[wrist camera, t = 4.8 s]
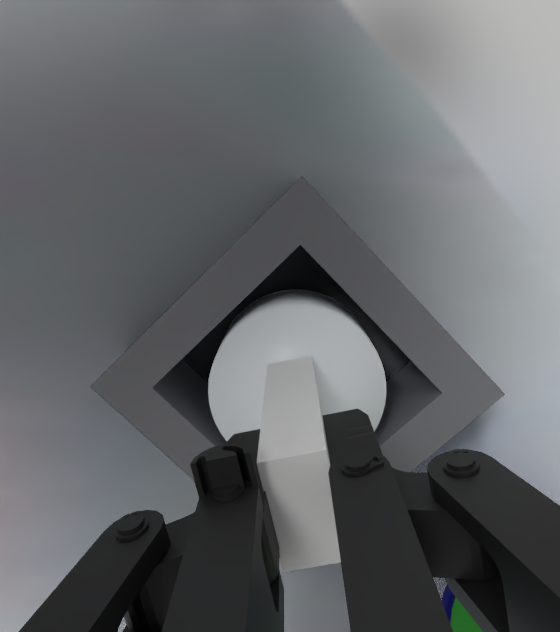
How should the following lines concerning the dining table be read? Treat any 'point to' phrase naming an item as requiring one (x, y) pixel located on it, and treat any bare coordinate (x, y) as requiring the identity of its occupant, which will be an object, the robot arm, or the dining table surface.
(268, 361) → the dome
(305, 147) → the dining table surface
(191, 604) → the robot arm
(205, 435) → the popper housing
